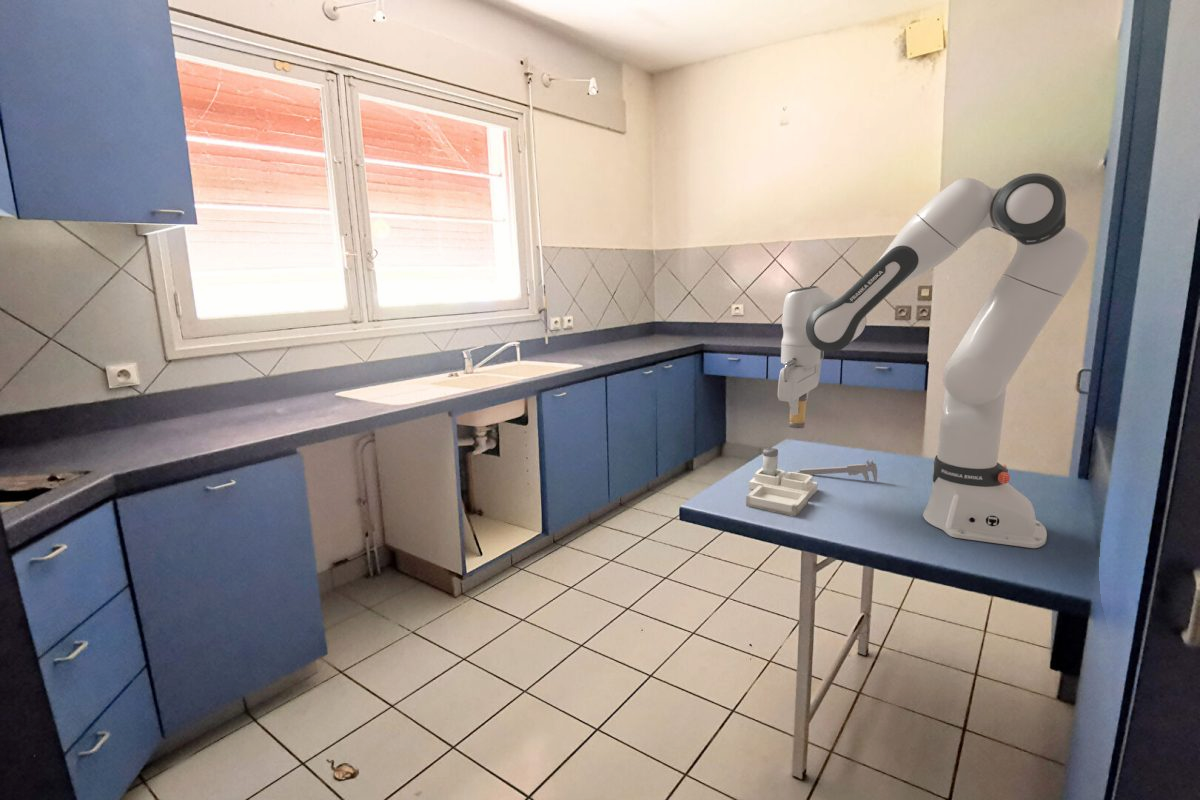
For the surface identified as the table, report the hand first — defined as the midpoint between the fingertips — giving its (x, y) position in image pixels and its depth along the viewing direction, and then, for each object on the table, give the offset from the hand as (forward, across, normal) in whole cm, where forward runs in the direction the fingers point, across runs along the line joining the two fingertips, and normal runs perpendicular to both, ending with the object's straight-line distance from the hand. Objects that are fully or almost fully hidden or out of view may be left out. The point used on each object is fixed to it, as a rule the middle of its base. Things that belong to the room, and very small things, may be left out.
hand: (797, 411), depth 146 cm
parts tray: (+21, -9, +1) cm, 23 cm away
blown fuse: (+4, 0, 0) cm, 4 cm away
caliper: (+22, +16, -6) cm, 27 cm away
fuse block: (+21, +1, +3) cm, 21 cm away
